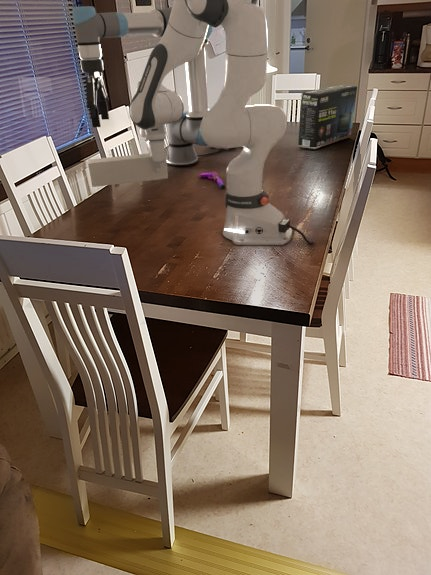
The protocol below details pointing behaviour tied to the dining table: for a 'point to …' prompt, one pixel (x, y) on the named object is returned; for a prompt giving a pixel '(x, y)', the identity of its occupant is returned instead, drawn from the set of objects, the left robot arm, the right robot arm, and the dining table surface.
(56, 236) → the dining table surface
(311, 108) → the router box
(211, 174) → the handgun
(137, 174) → the bar
